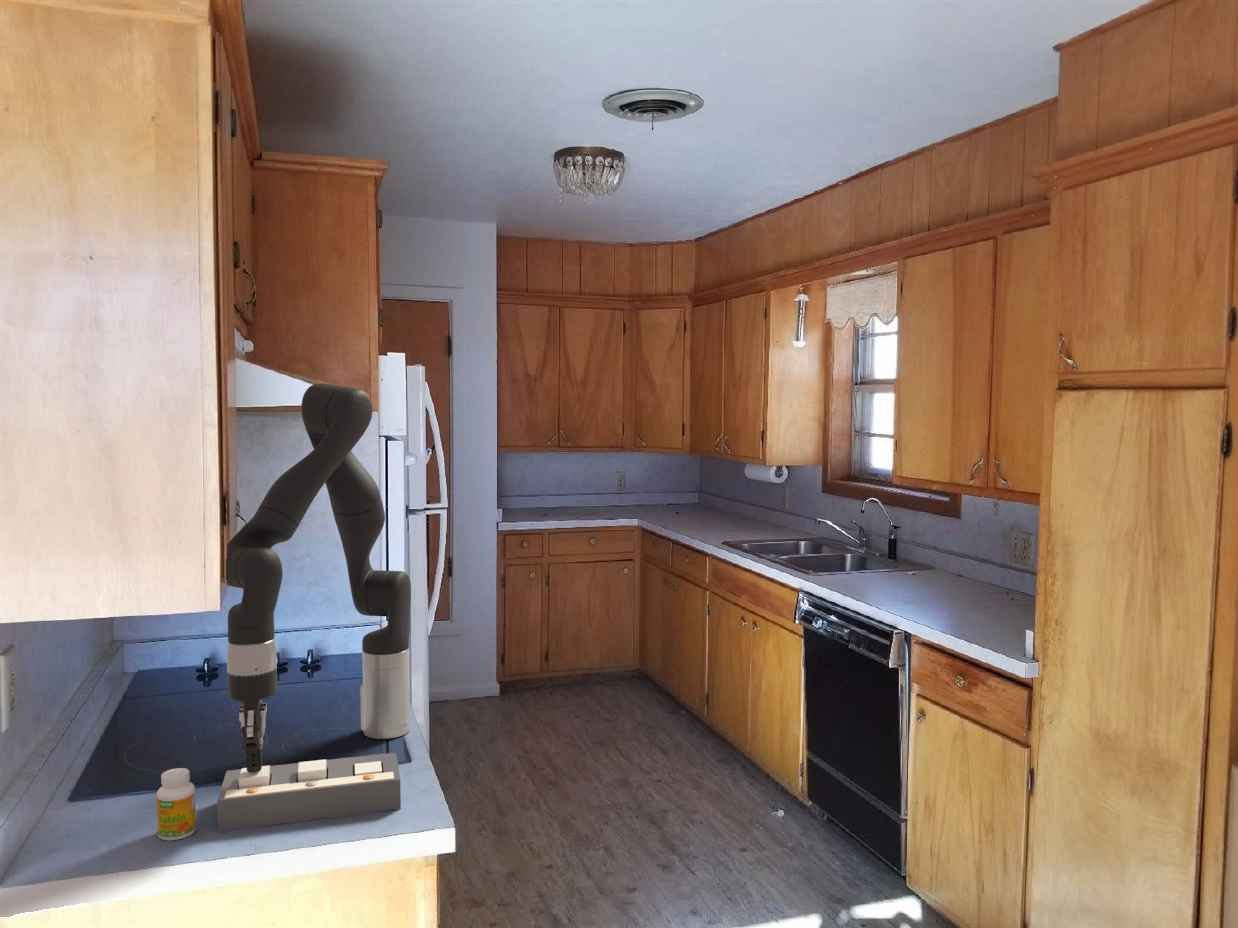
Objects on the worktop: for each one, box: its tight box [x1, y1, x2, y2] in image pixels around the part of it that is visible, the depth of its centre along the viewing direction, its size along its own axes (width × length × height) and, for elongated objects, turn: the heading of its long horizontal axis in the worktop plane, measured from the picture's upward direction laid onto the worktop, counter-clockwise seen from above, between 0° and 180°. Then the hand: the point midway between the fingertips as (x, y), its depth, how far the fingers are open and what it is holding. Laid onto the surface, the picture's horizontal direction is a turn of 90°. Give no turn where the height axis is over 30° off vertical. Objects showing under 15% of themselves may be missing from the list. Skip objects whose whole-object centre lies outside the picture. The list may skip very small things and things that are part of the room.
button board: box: [216, 752, 402, 833], centre depth 152 cm, size 28×12×5 cm, turn 107°
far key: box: [355, 761, 382, 776], centre depth 155 cm, size 4×4×3 cm
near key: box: [239, 764, 271, 789], centre depth 149 cm, size 4×4×3 cm
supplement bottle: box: [156, 767, 197, 842], centre depth 142 cm, size 5×5×10 cm
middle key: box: [298, 759, 327, 782], centre depth 152 cm, size 4×4×3 cm
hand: (254, 770), depth 149 cm, fingers closed
